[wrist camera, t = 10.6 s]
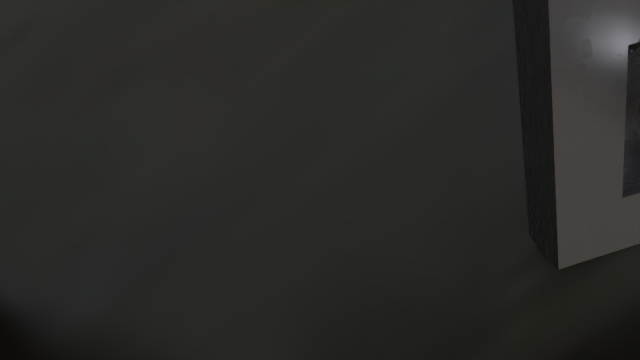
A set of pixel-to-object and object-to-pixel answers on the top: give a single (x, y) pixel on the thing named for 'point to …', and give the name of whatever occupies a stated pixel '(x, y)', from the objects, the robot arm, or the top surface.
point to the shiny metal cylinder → (633, 96)
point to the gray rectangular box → (578, 125)
